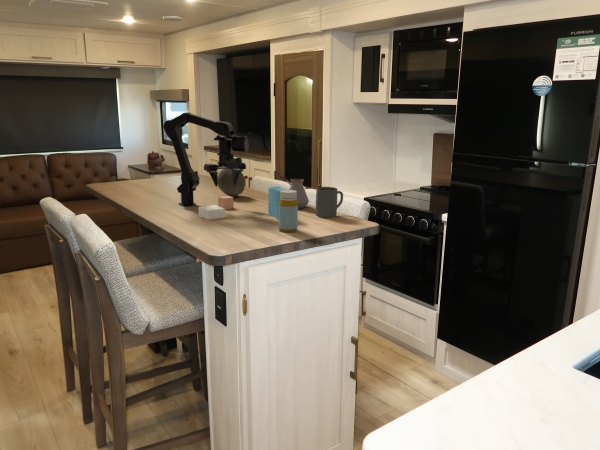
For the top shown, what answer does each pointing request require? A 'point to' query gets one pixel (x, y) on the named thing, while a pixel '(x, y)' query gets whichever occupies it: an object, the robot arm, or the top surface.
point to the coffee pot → (297, 186)
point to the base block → (211, 212)
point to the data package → (274, 201)
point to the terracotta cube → (225, 202)
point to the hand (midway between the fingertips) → (225, 185)
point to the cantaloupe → (230, 183)
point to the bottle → (288, 211)
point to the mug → (327, 201)
